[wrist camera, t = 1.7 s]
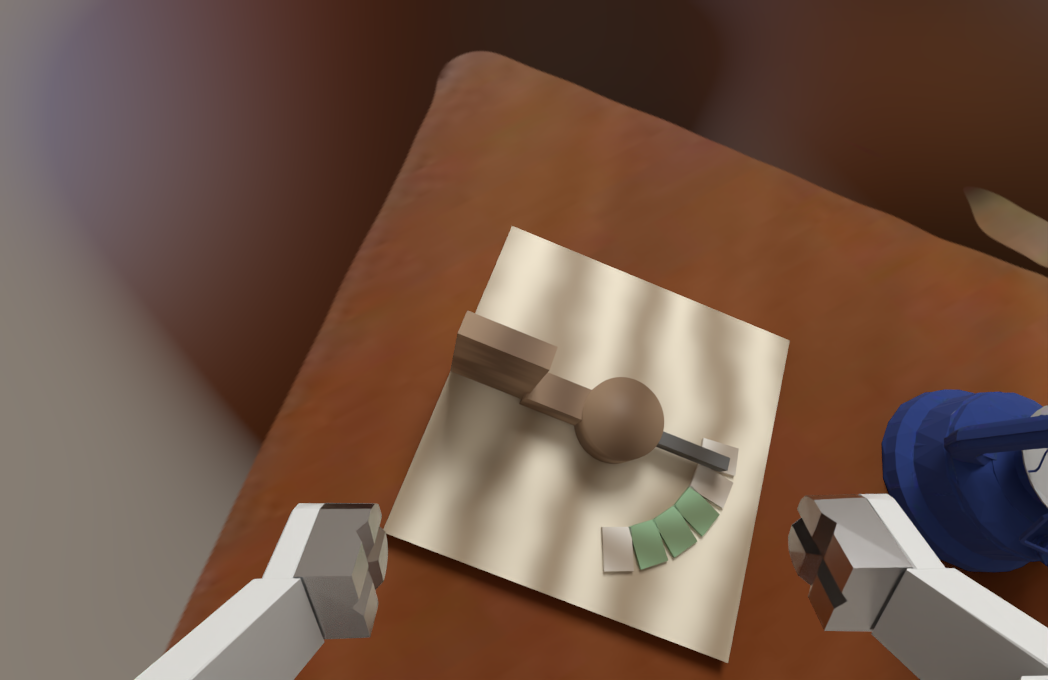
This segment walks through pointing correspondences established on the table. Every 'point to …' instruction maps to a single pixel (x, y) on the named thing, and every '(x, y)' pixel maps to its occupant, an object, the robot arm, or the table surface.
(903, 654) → the robot arm
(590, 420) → the brown wooden long piece
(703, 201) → the table surface
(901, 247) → the table surface
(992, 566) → the lantern
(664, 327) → the tuner board
